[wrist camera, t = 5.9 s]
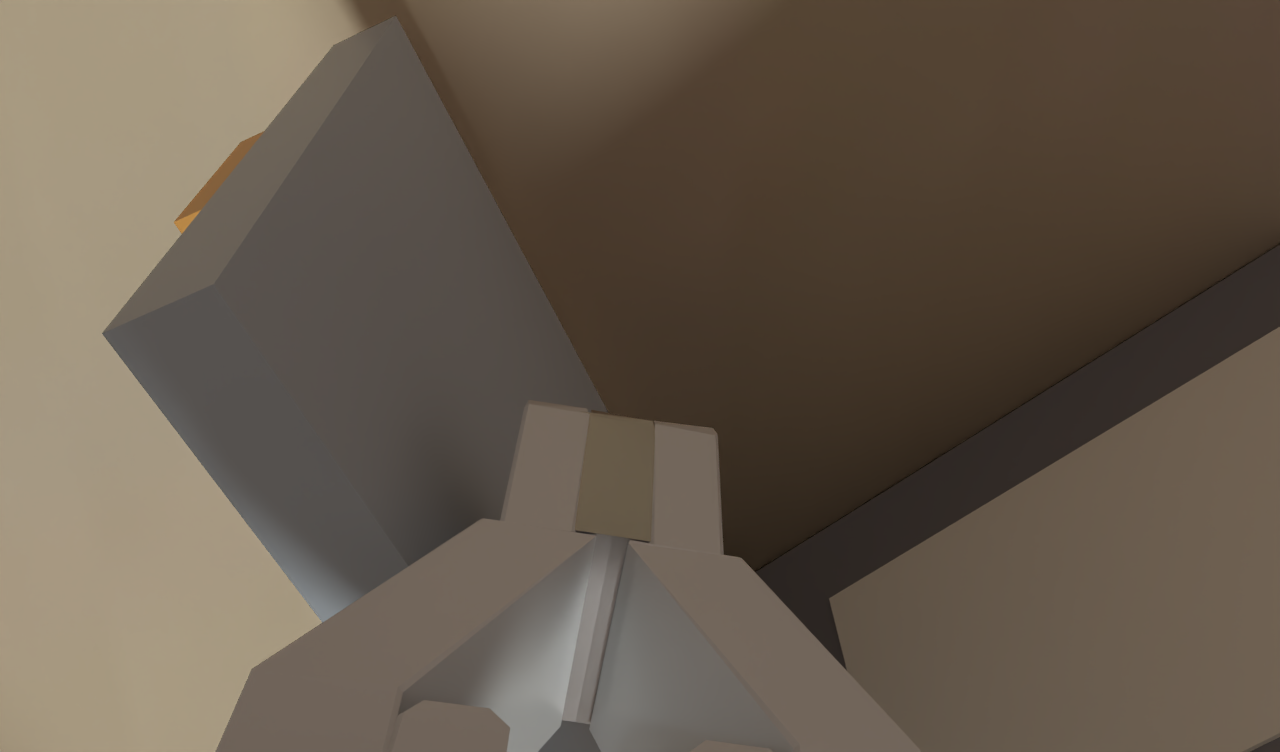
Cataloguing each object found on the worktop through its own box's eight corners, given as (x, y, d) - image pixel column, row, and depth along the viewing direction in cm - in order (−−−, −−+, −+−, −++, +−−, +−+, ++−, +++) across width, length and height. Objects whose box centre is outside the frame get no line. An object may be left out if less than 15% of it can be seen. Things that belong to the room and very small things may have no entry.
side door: (720, 582, 18) (791, 1121, 11) (638, 611, 18) (658, 1155, 12) (414, -4, 14) (217, 291, 7) (311, 45, 14) (20, 379, 7)
